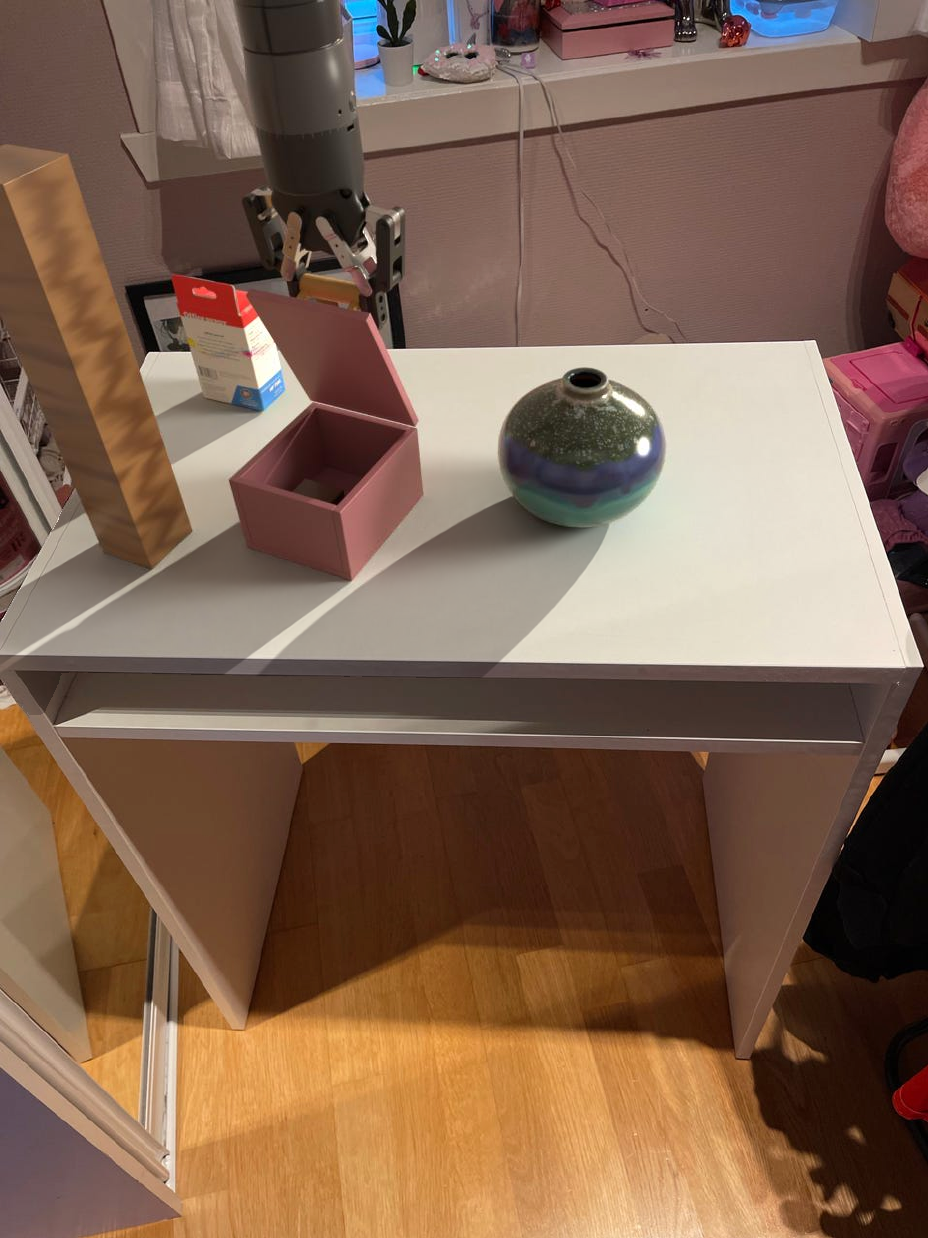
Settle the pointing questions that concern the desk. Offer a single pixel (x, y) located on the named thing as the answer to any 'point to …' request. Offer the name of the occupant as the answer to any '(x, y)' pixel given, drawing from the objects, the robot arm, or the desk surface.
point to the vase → (581, 449)
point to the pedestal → (83, 359)
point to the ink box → (228, 344)
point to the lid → (334, 348)
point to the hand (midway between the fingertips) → (341, 323)
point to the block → (320, 491)
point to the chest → (337, 456)
